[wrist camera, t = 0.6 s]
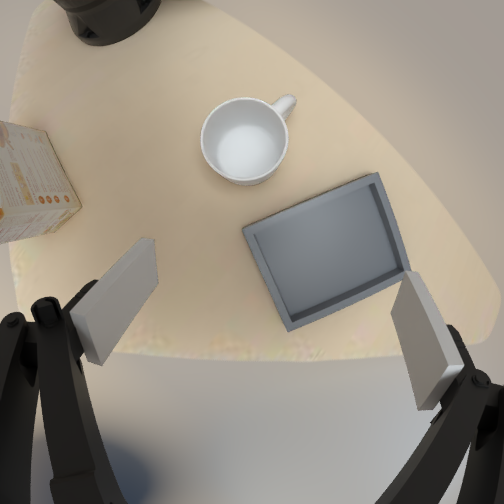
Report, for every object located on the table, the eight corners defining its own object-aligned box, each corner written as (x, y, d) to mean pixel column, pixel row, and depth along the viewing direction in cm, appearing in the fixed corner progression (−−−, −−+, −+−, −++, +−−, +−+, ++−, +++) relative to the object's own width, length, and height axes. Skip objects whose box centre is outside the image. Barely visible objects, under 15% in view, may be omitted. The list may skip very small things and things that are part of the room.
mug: (266, 91, 36) (269, 57, 26) (313, 133, 37) (332, 112, 27) (201, 155, 38) (182, 141, 28) (248, 199, 39) (245, 199, 28)
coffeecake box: (19, 158, 38) (-70, 151, 19) (46, 129, 37) (-45, 107, 18) (54, 234, 40) (-42, 257, 21) (84, 206, 39) (-15, 216, 20)
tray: (242, 227, 39) (241, 229, 36) (369, 173, 38) (378, 172, 35) (285, 323, 41) (287, 332, 38) (402, 269, 40) (412, 274, 37)
